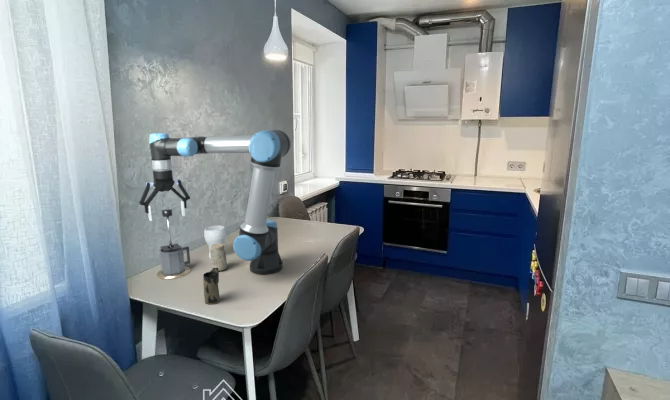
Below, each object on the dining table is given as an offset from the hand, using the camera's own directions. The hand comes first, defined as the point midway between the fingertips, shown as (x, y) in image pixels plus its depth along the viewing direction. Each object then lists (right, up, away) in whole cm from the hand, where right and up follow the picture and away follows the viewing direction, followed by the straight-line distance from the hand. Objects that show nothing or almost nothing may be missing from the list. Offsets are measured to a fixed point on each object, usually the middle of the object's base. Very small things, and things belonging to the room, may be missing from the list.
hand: (167, 217), depth 161 cm
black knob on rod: (0, -15, +3) cm, 16 cm away
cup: (+13, -21, +26) cm, 36 cm away
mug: (+27, -31, -20) cm, 46 cm away
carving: (+20, -25, +9) cm, 33 cm away
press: (0, -25, +5) cm, 26 cm away
